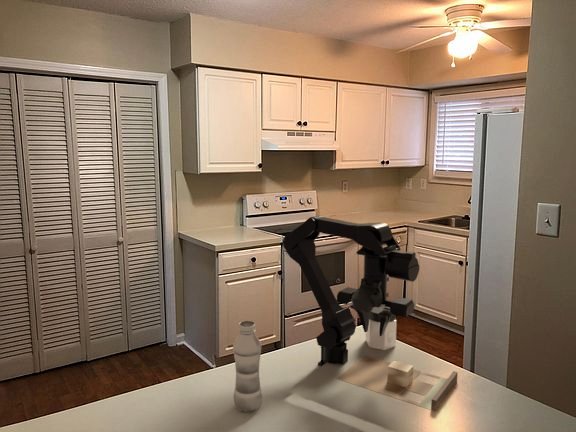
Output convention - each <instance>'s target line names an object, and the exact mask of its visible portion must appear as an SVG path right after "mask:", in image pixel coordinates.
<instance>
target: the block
mask: <svg viewBox="0 0 576 432" xmlns="http://www.w3.org/2000/svg"><path fill="white" fill-rule="evenodd" d="M390 363H391V364H390V365H389V366H388V376H387V382H390V383H393V384H397V385H400V386H403V387H406V388H407V387H408V386H409V385H410V384H411V382H412V381H413V369H414V365H412V364H408V363H406V362H402V361H398V360H393V361H392V362H390Z"/></svg>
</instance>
